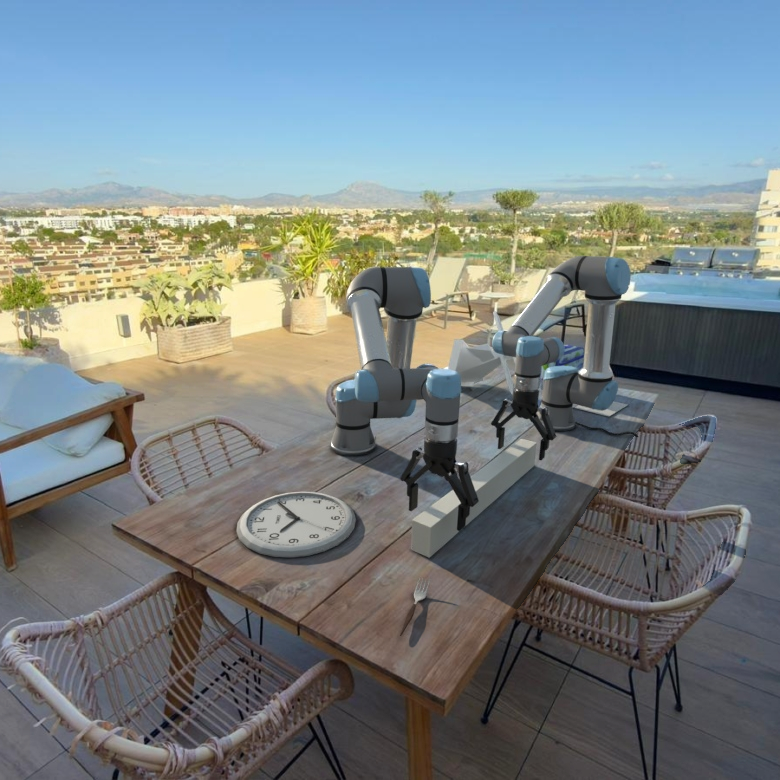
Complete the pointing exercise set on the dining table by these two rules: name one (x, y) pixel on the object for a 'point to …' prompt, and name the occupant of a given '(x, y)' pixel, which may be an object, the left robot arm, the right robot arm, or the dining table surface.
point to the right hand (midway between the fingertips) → (520, 453)
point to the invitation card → (608, 412)
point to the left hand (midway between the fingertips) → (436, 518)
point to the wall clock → (296, 524)
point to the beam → (489, 485)
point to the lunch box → (566, 360)
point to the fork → (418, 596)
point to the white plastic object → (478, 360)
